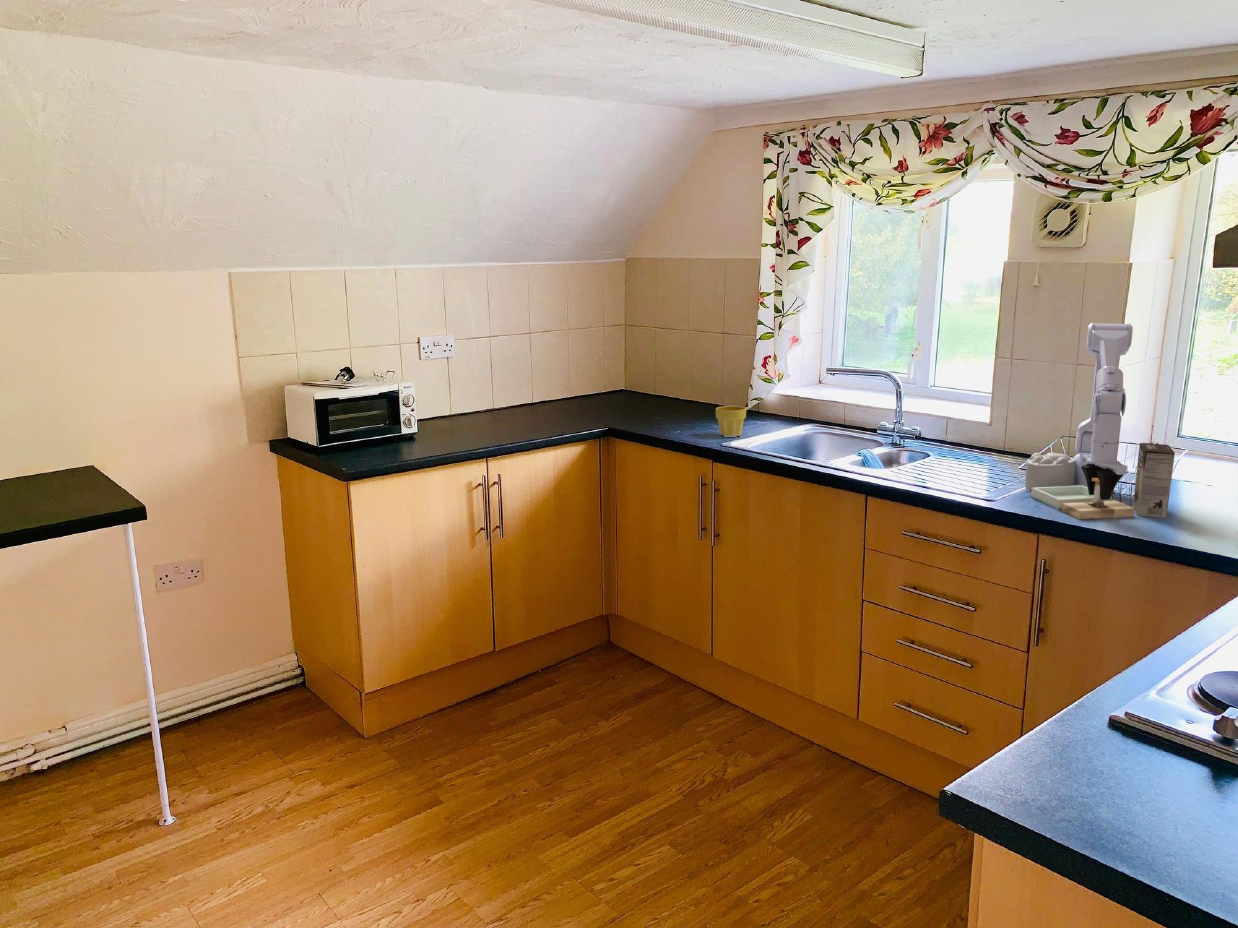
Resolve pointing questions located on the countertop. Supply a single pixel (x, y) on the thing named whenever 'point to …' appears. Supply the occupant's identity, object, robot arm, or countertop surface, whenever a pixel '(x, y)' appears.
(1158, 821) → the countertop surface
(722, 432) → the plant pot
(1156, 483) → the coffee box
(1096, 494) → the pin
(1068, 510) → the tan flat rectangular block
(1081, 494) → the tray
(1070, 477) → the lumpy-topped squat cylinder
